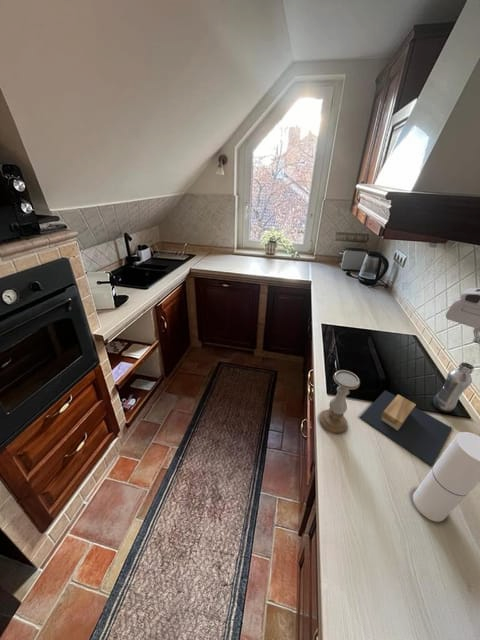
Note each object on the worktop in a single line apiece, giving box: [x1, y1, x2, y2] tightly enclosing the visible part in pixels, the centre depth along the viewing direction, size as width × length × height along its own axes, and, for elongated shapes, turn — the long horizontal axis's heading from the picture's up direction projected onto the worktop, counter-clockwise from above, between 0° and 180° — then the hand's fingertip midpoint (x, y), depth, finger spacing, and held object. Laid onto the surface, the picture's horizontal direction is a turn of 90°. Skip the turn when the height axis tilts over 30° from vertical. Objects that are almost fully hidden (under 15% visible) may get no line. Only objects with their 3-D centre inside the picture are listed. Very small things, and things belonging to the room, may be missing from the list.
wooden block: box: [381, 394, 417, 431], centre depth 88 cm, size 4×12×6 cm
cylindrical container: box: [412, 431, 480, 523], centre depth 59 cm, size 7×7×25 cm
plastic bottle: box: [432, 361, 475, 413], centre depth 88 cm, size 6×7×20 cm
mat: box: [359, 389, 452, 467], centre depth 87 cm, size 22×20×1 cm
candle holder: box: [319, 369, 361, 434], centre depth 82 cm, size 9×9×20 cm
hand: (479, 343), depth 75 cm, fingers closed
